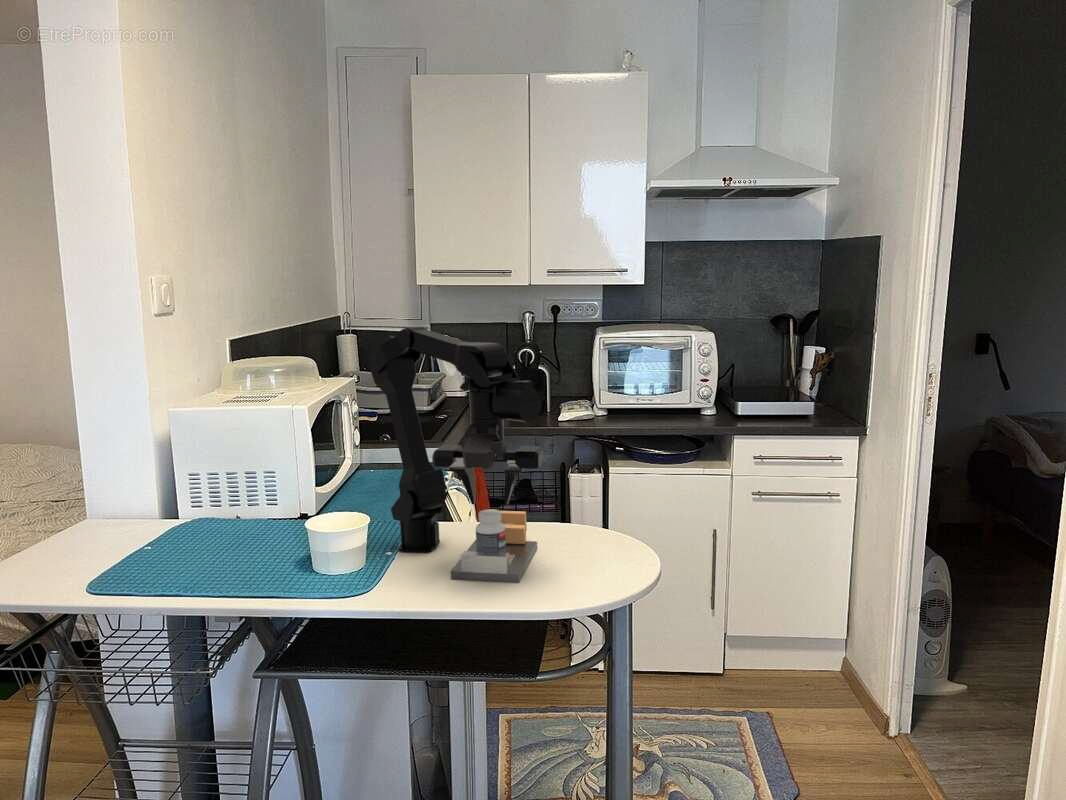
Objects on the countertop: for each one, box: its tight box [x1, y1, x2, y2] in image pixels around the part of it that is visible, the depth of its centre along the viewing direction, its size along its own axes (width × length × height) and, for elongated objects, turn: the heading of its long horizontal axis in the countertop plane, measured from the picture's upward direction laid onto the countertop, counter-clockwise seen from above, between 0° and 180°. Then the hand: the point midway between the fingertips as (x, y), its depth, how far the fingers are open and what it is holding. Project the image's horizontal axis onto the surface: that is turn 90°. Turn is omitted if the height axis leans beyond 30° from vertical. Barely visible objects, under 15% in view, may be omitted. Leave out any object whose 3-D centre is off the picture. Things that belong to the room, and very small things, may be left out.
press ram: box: [499, 510, 528, 544], centre depth 153 cm, size 8×8×4 cm
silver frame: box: [450, 539, 538, 584], centre depth 144 cm, size 12×17×4 cm
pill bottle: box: [475, 508, 506, 553], centre depth 140 cm, size 5×5×9 cm
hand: (489, 504), depth 139 cm, fingers open, 6 cm apart
